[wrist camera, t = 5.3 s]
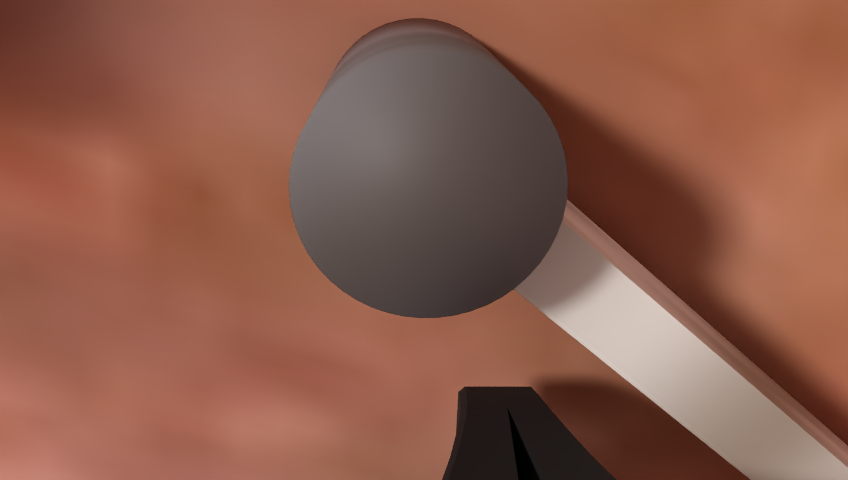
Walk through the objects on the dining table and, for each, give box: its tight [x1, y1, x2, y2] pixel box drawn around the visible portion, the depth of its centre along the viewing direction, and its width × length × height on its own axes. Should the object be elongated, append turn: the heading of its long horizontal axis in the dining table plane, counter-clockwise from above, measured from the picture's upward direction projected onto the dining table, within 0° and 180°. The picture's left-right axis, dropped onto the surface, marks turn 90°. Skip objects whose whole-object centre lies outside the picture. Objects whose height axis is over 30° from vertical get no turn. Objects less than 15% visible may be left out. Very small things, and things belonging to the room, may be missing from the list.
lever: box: [289, 18, 848, 480], centre depth 12 cm, size 17×3×4 cm, turn 49°
